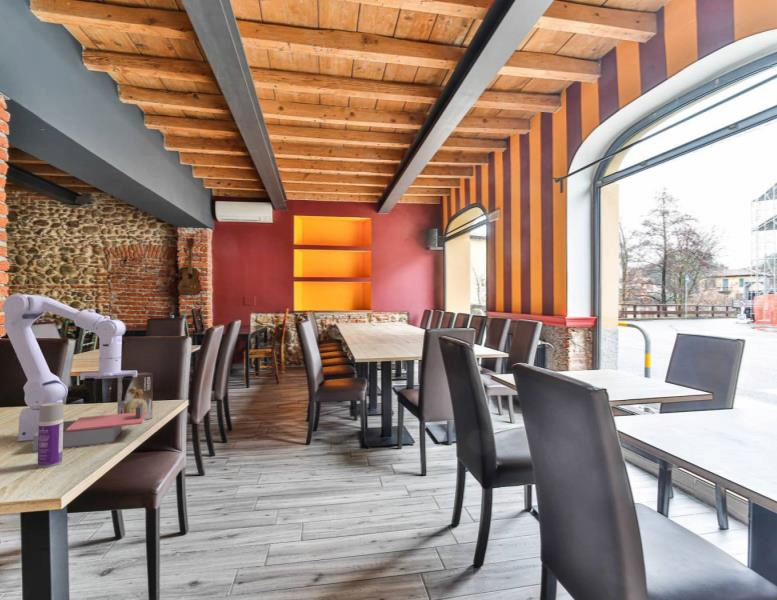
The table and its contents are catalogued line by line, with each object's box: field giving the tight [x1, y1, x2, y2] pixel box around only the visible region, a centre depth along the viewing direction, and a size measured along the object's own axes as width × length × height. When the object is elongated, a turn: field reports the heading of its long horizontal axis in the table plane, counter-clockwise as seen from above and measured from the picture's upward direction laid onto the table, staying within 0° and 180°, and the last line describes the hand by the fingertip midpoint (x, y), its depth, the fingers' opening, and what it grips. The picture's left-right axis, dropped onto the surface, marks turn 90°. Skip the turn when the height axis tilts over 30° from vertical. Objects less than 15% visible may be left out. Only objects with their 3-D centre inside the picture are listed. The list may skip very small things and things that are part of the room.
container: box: [37, 402, 64, 468], centre depth 98 cm, size 5×5×15 cm
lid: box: [66, 404, 147, 432], centre depth 119 cm, size 18×14×4 cm
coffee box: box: [116, 371, 154, 421], centre depth 137 cm, size 9×6×16 cm
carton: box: [32, 419, 123, 453], centre depth 115 cm, size 18×14×4 cm
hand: (108, 401), depth 122 cm, fingers open, 7 cm apart
